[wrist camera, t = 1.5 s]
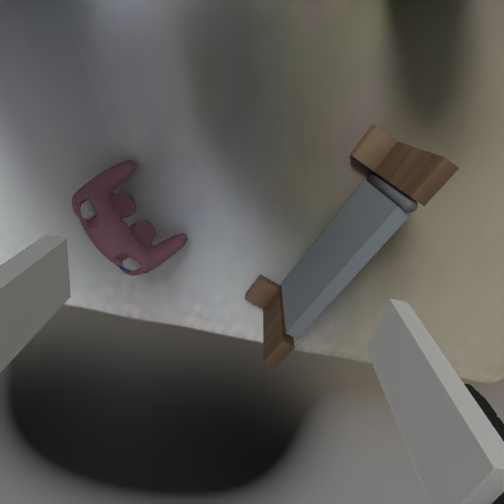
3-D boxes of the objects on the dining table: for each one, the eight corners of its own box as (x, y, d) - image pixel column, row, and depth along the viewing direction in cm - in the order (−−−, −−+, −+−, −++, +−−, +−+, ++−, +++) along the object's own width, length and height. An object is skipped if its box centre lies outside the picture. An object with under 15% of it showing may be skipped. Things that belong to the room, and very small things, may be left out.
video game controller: (110, 170, 32) (49, 203, 27) (134, 152, 29) (72, 186, 24) (168, 248, 35) (124, 290, 31) (195, 239, 33) (151, 284, 28)
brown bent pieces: (245, 294, 36) (240, 351, 28) (372, 124, 28) (417, 136, 20) (289, 318, 37) (296, 379, 29) (422, 162, 29) (484, 188, 21)
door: (281, 282, 35) (286, 335, 27) (370, 170, 29) (409, 196, 22) (298, 293, 35) (308, 347, 28) (390, 184, 30) (434, 214, 22)
